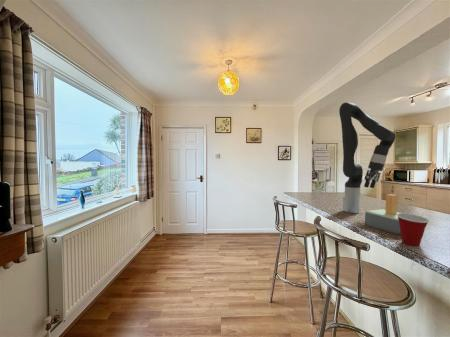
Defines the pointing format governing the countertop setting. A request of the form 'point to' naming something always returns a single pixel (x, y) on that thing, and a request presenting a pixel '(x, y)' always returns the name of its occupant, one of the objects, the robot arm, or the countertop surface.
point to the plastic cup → (412, 228)
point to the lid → (388, 208)
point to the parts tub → (382, 223)
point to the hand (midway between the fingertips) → (368, 187)
